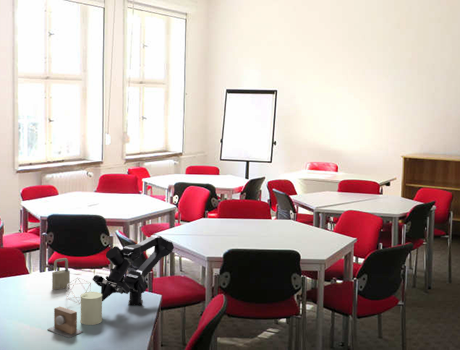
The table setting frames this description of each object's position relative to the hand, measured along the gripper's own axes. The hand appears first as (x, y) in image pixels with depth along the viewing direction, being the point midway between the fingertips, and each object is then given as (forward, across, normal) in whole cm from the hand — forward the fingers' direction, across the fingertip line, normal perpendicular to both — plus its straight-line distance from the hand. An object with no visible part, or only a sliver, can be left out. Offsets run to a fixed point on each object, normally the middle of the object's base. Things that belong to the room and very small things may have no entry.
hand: (101, 300), depth 255 cm
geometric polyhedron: (-1, +24, -12) cm, 27 cm away
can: (+10, 0, -1) cm, 10 cm away
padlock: (-6, +44, -17) cm, 48 cm away
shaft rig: (+19, 0, +9) cm, 21 cm away
